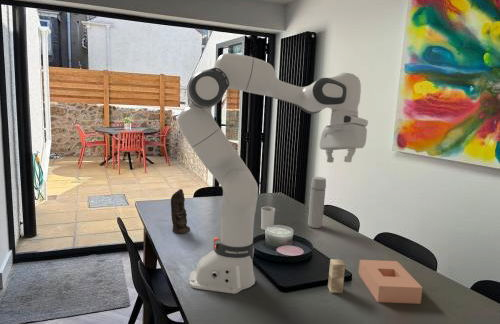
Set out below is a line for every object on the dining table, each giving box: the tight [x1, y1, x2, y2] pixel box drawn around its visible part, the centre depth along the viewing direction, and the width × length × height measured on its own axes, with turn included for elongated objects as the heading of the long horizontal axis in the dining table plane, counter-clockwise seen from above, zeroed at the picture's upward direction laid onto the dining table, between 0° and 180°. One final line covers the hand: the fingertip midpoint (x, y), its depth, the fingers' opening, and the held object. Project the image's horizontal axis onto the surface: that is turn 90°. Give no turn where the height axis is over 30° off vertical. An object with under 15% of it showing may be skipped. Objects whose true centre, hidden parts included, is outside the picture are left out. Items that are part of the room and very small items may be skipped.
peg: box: [327, 258, 346, 294], centre depth 127 cm, size 4×4×10 cm
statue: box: [170, 188, 191, 235], centre depth 173 cm, size 7×7×20 cm
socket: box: [357, 259, 423, 305], centre depth 131 cm, size 14×20×6 cm
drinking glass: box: [260, 206, 276, 231], centre depth 184 cm, size 7×7×10 cm
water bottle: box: [307, 176, 327, 229], centre depth 191 cm, size 9×8×25 cm
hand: (338, 162), depth 127 cm, fingers open, 8 cm apart
